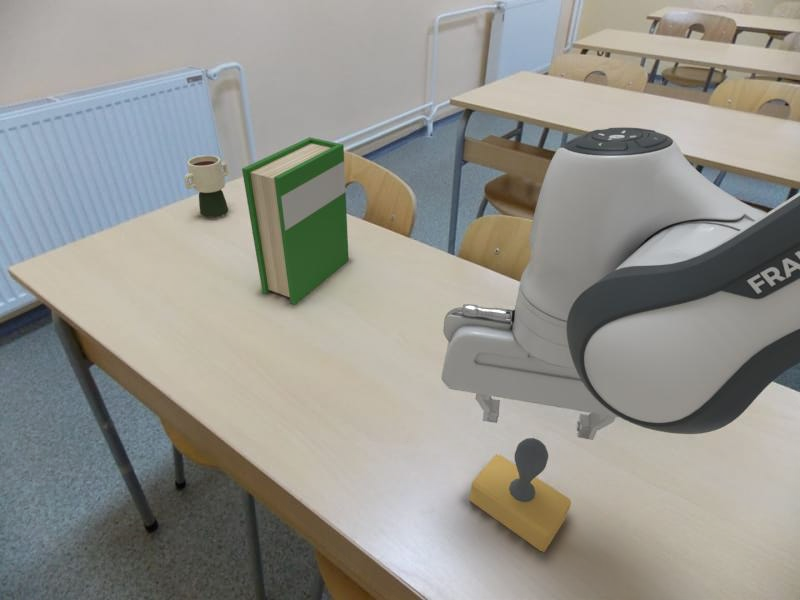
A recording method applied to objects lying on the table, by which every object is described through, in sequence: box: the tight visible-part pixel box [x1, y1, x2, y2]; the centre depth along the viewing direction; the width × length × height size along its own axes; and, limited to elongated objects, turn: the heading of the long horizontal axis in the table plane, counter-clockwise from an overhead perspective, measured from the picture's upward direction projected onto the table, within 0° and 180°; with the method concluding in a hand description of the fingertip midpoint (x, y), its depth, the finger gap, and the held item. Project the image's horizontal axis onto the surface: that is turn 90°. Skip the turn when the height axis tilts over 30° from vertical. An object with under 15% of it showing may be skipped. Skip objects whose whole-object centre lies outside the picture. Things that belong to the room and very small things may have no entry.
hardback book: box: [241, 136, 350, 305], centre depth 94 cm, size 18×7×24 cm, turn 151°
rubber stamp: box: [469, 437, 572, 553], centre depth 58 cm, size 10×6×12 cm, turn 50°
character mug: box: [183, 154, 229, 218], centre depth 117 cm, size 11×7×13 cm, turn 142°
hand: (536, 425), depth 53 cm, fingers open, 8 cm apart
